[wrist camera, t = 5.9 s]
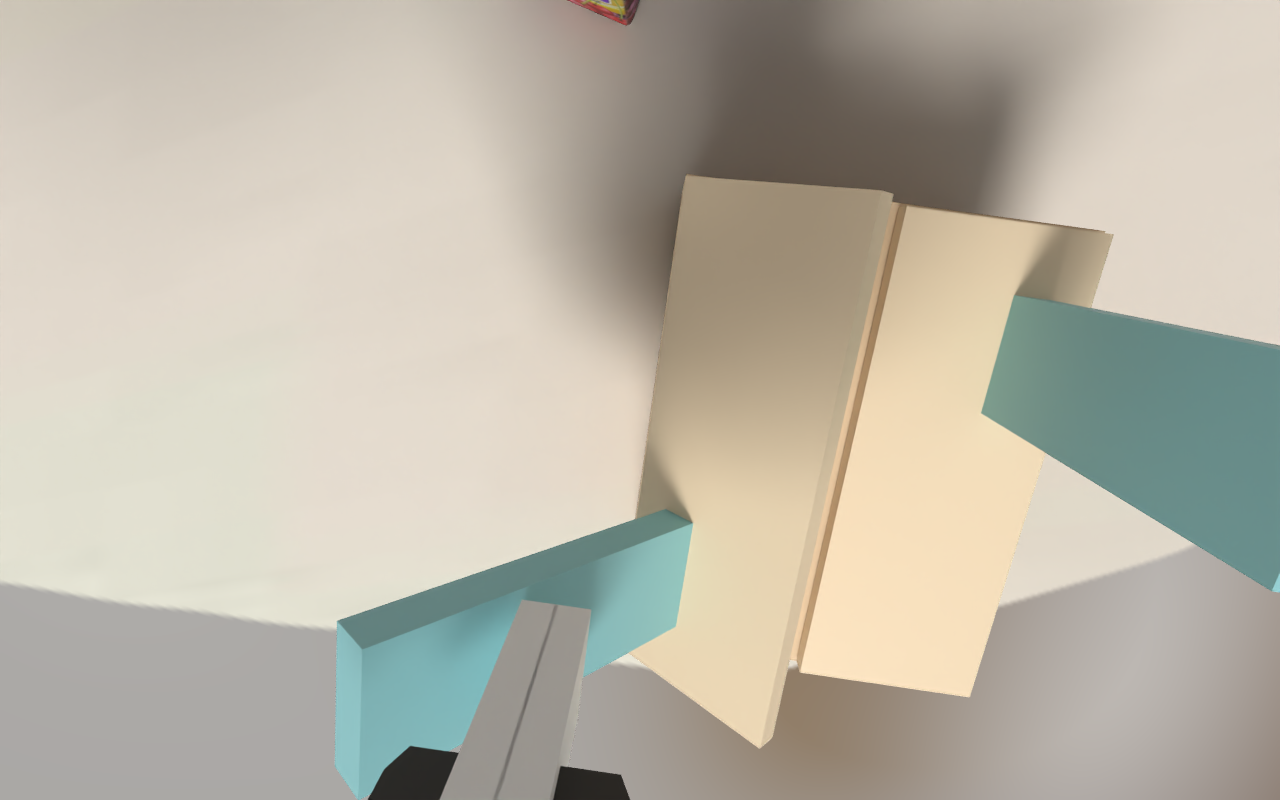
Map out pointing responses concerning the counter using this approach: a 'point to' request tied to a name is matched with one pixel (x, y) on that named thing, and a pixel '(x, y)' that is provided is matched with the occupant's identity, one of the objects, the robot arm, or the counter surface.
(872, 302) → the carton
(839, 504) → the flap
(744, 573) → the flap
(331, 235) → the counter surface
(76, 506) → the counter surface
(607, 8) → the snack box
